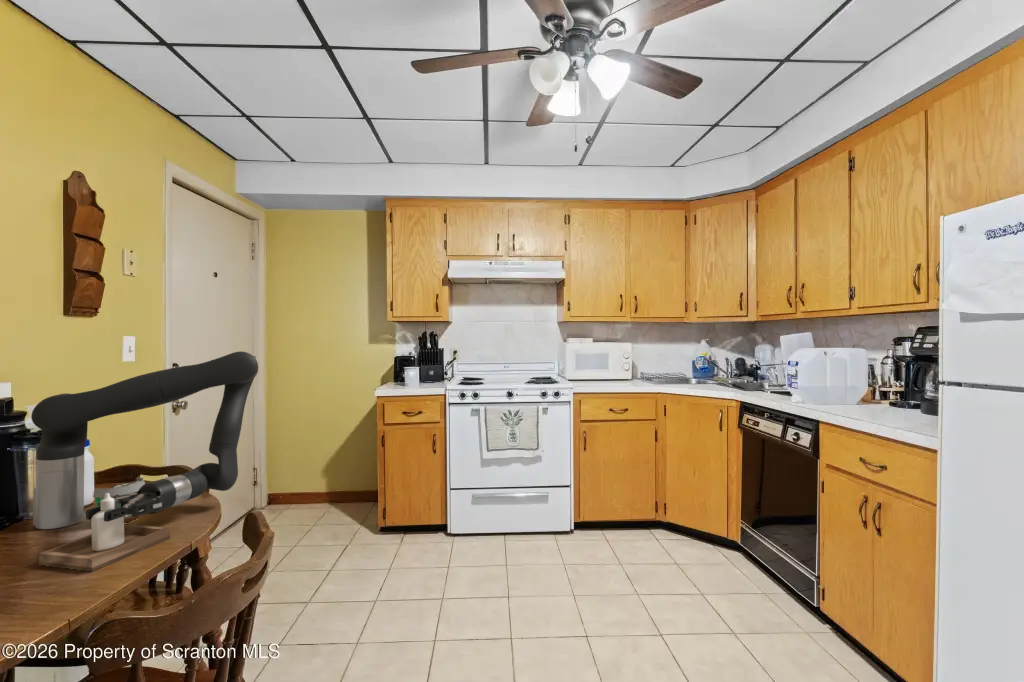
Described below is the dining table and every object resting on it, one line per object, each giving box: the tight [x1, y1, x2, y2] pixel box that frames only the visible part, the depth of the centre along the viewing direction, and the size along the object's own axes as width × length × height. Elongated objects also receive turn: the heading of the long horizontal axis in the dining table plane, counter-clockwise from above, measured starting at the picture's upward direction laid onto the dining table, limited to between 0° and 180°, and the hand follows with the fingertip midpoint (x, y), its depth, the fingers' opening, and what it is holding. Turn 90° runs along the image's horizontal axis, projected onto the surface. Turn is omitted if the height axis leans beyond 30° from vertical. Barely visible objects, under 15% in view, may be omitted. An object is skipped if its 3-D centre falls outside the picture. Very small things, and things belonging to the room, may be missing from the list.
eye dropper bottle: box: [90, 493, 124, 551], centre depth 112 cm, size 4×6×12 cm
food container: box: [92, 476, 146, 524], centre depth 131 cm, size 12×6×10 cm, turn 168°
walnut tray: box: [38, 523, 171, 573], centre depth 112 cm, size 14×18×2 cm
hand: (96, 516), depth 110 cm, fingers open, 4 cm apart
